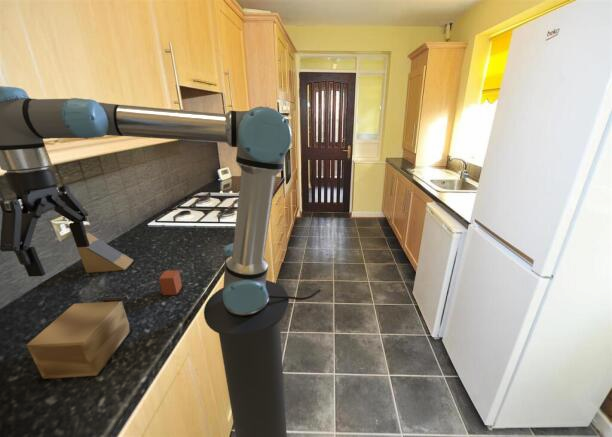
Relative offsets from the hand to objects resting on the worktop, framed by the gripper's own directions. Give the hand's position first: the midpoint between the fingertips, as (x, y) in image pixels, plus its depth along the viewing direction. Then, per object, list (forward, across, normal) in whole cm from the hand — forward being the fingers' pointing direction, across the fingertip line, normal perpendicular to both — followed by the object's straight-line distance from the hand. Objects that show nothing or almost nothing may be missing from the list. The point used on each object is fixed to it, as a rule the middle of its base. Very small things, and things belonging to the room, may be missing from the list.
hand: (62, 259), depth 63 cm
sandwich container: (+29, -47, -25) cm, 60 cm away
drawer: (+28, -4, -2) cm, 28 cm away
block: (+28, -27, +9) cm, 40 cm away
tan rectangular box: (+28, 0, -2) cm, 29 cm away
